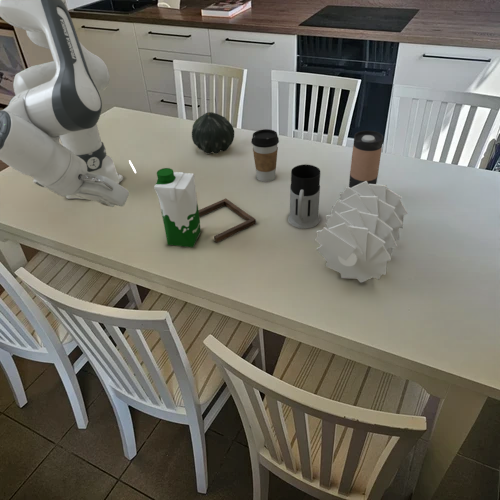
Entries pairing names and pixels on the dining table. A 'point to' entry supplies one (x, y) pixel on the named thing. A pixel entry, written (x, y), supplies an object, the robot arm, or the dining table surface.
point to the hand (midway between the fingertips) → (110, 203)
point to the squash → (212, 133)
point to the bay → (237, 210)
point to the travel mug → (365, 157)
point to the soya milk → (178, 207)
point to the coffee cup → (265, 153)
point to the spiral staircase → (362, 231)
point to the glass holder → (304, 196)
